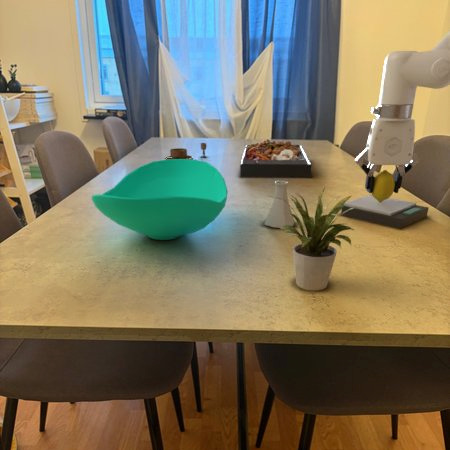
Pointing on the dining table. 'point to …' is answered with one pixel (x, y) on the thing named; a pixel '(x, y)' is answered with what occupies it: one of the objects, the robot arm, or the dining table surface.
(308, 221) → the house plant
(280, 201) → the flask
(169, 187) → the table top decor
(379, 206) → the scale
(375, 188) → the lemon
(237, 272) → the dining table surface
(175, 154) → the place setting
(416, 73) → the robot arm
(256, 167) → the food platter
